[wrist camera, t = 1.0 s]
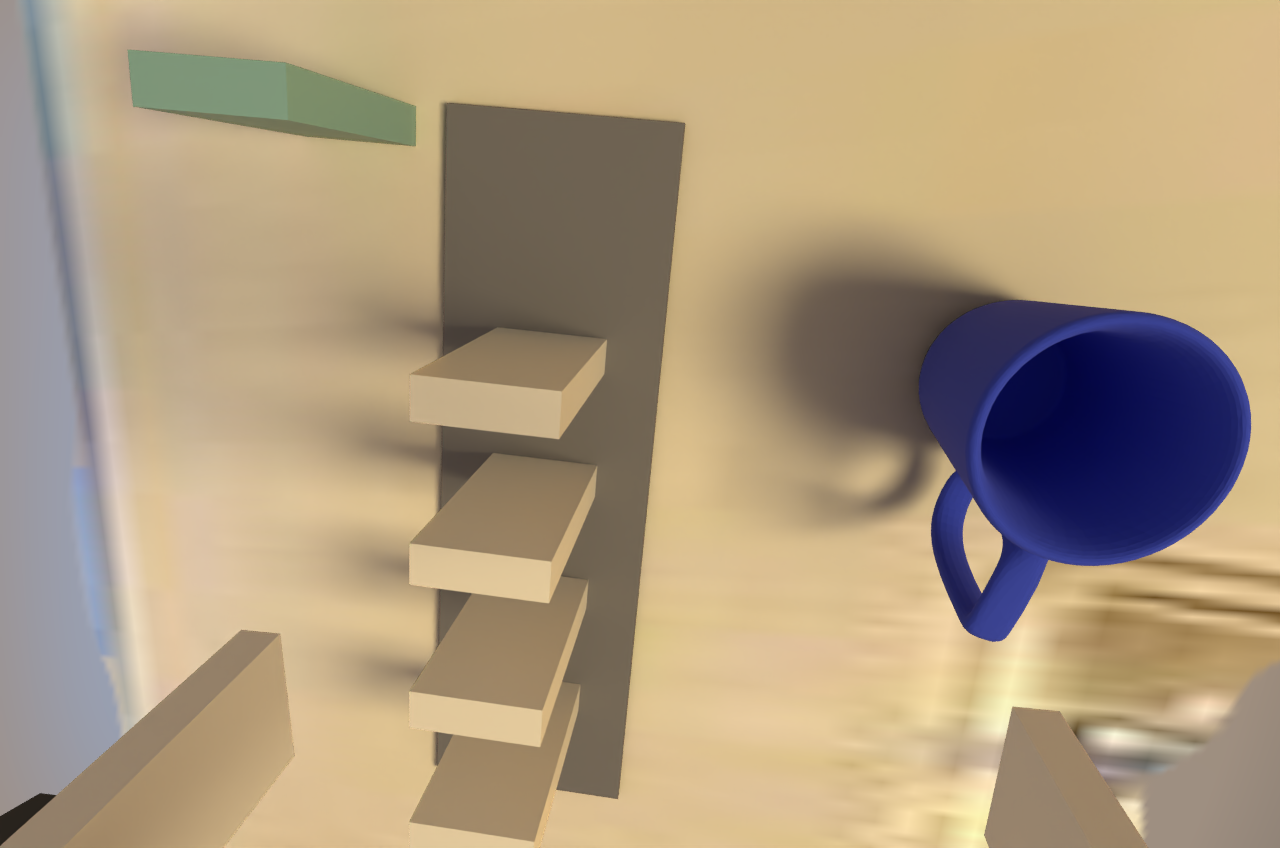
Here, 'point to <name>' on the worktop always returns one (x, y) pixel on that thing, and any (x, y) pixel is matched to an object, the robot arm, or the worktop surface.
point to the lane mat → (581, 306)
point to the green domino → (267, 97)
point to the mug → (1074, 442)
